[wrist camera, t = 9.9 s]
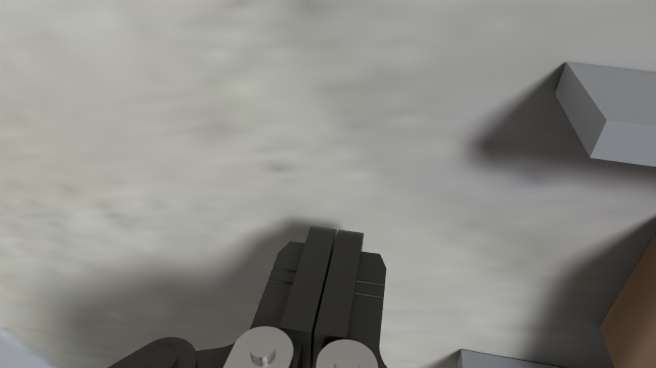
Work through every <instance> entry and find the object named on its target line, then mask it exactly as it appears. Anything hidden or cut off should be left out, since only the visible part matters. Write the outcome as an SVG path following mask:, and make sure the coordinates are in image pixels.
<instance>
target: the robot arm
mask: <svg viewBox="0 0 656 368" xmlns="http://www.w3.org/2000/svg"><path fill="white" fill-rule="evenodd" d="M363 237H364V233H359V232H352V231H345V230H338V233H337V230H336V229H330V228H322V227H315V226H311V227H310V230H309V233H308V237H307V240H306V243H298V242H291V241H290V242H289V243H288V244H287V245H286V246H285V247H284V248H283V249H282V250H281V251H280V252H279V253H278V255H277V258H276V261H275V263H274V266H273V270H272V272H271V274H270V277H269V281H268V282H267V285H266V288H265V291H264V293H263V296H262V299H261V301H260V304H259V307H258V310H257V312H256V315H255V318H254V320H253V323H252V325H251V328H250V329H249V330H248V331H247V332H245V333H244V334H242V335H241V336H240V337H239V338H238V339H237V341H236V342H235V343H233V344H231V345H229V346H226V347H222V348H217V349H209V350H201V351H195V349H194V348H193V346H192V345H191V344H190V343H189V342H187V341H186V340H184V339H181V338H177V337H167V338H162V339H158V340H155V341H153V342H151V343H149V344H148V345H146V346H144V347H143V348H141V349H139V350H137V351H136V352H134V353H132V354H131V355H129V356H127V357H125V358H124V359H122V360H120V361H119V362H117V363H115V364H113V365H112V366H110V367H108V368H387V367H386V365H385V364H384V362H383V360H382V358H381V355H380V350H379V343H380V332H381V321H382V310H383V299H384V289H385V278H386V267H385V264H384V262H383V260H382V258H381V255H380V254H375V253H368V252H362V246H363Z"/></svg>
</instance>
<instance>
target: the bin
mask: <svg viewBox="0 0 656 368" xmlns="http://www.w3.org/2000/svg"><path fill="white" fill-rule="evenodd" d="M555 95H556V97H557V99H558V101H559V103H560V104H561V106H562V108H563V110H564V112H565V114H566V115H567V117H568V119H569V121H570V123H571V124H572V126H573V128H574V130H575V132H576V133H577V135H578V137H579V139H580V141H581V143H582V144H583V146H584V148H585V150H586V152H587V153H588V155H589V157H590V158H595V159H602V160H609V161H617V162H624V163H632V164H639V165H646V166H654V167H656V72H648V71H640V70H631V69H623V68H614V67H605V66H597V65H588V64H580V63H571V62H566V64H565V67H564V70H563V72H562V75H561V78H560V81H559V83H558V86H557V89H556V92H555ZM457 368H562V367H556V366H550V365H545V364H539V363H534V362H528V361H522V360H517V359H511V358H506V357H500V356H494V355H489V354H483V353H478V352H472V351H467V350H461V352H460V355H459V357H458V360H457Z"/></svg>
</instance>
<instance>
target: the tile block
mask: <svg viewBox="0 0 656 368" xmlns="http://www.w3.org/2000/svg"><path fill="white" fill-rule="evenodd" d="M599 328H600V331H601V334H602V336H603V339H604V342H605V344H606V347H607V350H608V352H609V355H610V358H611V360H612V363H613V366H614V368H656V233H655V235H654V236H653V238H652V240H651V241H650V243H649V245H648V246H647V248H646V250H645V251H644V253H643V255H642V256H641V258H640V260H639V261H638V263H637V265H636V266H635V268H634V270H633V271H632V273H631V275H630V276H629V278H628V280H627V281H626V283H625V285H624V286H623V288H622V290H621V291H620V293H619V295H618V296H617V298H616V300H615V302H614V303H613V305H612V307H611V308H610V310H609V312H608V313H607V315H606V317H605V318H604V320H603V322H602V323H601V325H600V327H599Z"/></svg>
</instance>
